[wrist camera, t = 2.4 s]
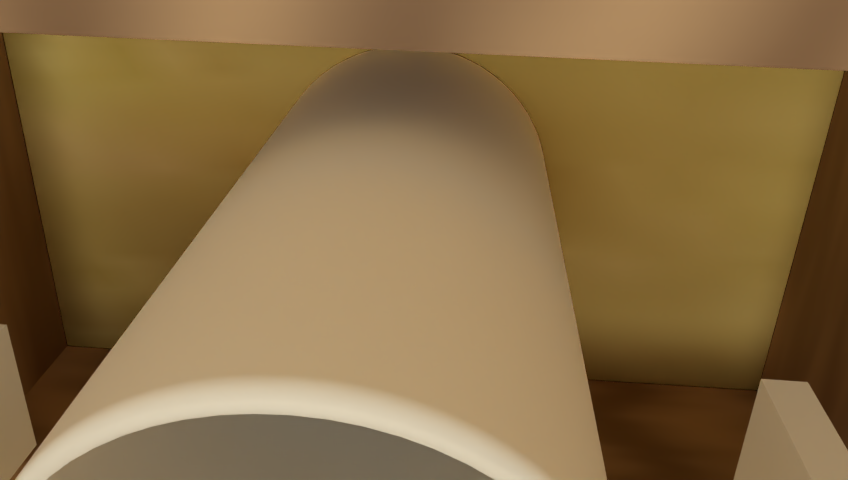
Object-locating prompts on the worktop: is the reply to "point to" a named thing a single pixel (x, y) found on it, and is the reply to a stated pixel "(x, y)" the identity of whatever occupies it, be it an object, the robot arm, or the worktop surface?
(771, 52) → the crate
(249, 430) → the cup
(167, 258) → the worktop surface
